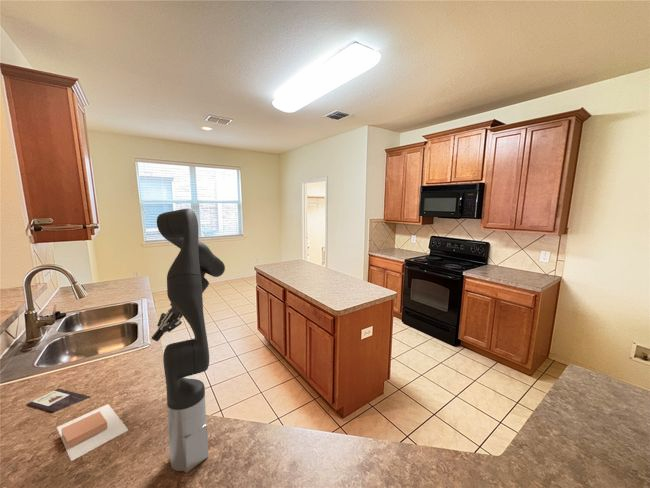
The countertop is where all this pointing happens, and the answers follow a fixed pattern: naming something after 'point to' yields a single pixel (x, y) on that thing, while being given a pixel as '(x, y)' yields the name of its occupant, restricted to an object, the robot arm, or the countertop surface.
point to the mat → (112, 431)
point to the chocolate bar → (57, 400)
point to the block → (83, 429)
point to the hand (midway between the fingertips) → (154, 340)
